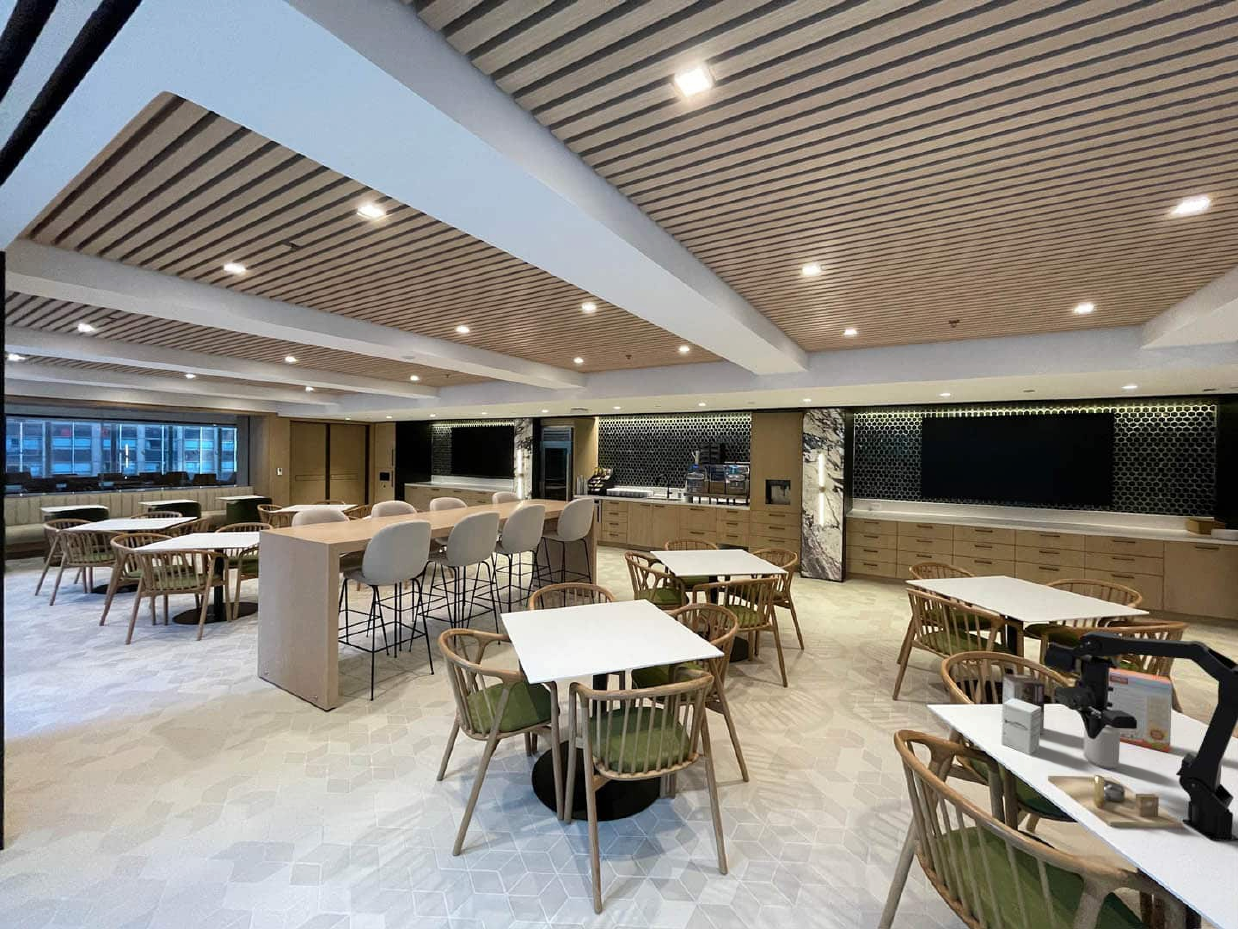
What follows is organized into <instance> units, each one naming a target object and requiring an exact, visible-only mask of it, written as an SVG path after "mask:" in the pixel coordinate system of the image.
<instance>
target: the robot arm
mask: <svg viewBox="0 0 1238 929" xmlns="http://www.w3.org/2000/svg"><path fill="white" fill-rule="evenodd" d="M1078 640H1079V641H1078V642H1079V643H1078V645H1076V646H1074V647H1069V646H1066V645H1060V644H1058V643H1055V642H1052V641H1051V642H1050V643H1048V645H1047V648H1046V651H1045V655H1044V657H1043V662H1044V666H1045V667H1046V668H1050V669H1054V670H1056V671H1061V672H1065V673H1068V674H1073V673H1074V672H1078V671H1079V670H1080V674H1079V676H1080V679H1079V678H1078V679H1075V680H1074V684H1073V686H1069V685H1057V686H1056V687H1055V689H1054V697H1056V698H1057V699H1058V702H1059V704H1060V705H1063V706H1064V707H1067V708H1068V709H1069V710H1072V711H1076V712H1077V713H1078V714H1079V715H1080V717H1081V720H1082V722H1083V725H1084V729H1085V728H1086V731H1087V734H1088V737H1089V738H1091V739H1095V738H1096V737H1097V736H1098V735H1099V733H1100V732H1101V731H1102V730H1103V728H1104V727H1105V726H1106V725H1109V726H1111V727H1114V728H1124V729H1137V720H1136V719H1135V718H1134V717H1133V716H1131V715H1129V714H1127V713H1125V712H1123V711H1121V710H1110V709H1108V708H1107V707H1113V703H1111V702H1109V701H1108V695H1109V691H1113V687H1111V686H1109V672H1110V668H1112V669H1120V667H1121V666H1122V665H1121V664H1120V663H1119V662H1118V661H1116V660H1115V658H1114V657H1115V656H1121V655H1136V656H1147V657H1159V658H1171V659H1172V658H1173V659H1183V660H1191V661H1192V662H1193V663H1194V664H1196V665H1197V666H1199V668H1200V669H1202V670H1203V672H1205V673H1207V674H1208V676H1210V677H1211V678H1212V679H1214V680H1215V681H1217V682H1218V686H1217V704H1216V707H1215V709H1214V712H1213V714H1212V716H1211V719H1210V722H1209V724H1208V727H1207V729H1206V732H1205V735H1204V736H1203V739H1202V742H1201V744H1200V747H1199V749H1198V752H1197V753H1196V755H1193V754H1191V753H1189V752H1187V753H1186V754H1185V756H1184V757H1183V758H1182V759H1181V767H1180V768H1179V770H1177V772H1176V774H1175V775H1176V776H1179V779H1178V783H1179V785H1180V786H1181V788H1182V789H1183V791H1185V793H1187V794H1188V796H1189V801H1188V804H1187V805H1188V807H1187V818H1183V819H1182V823H1184V824H1186V825H1187V826H1189V827H1191V828H1192V829H1194V830H1195V831H1197V833H1200V834H1201V835H1203V836H1205V837H1206V838H1208V839H1209V840H1212V841H1233V842H1234V841H1235V842H1237V841H1238V837H1237V835H1234V834H1233V820H1234V818H1233V817H1234V813H1233V811H1230V809H1229V807H1230V806H1231V803H1233V802H1232V801H1233V799H1234V796H1233V794H1232V793H1230V792H1229V790H1228V789H1227V788H1226V787H1224V786H1223V784H1222V783H1221V780H1222V779H1221V777H1222V760H1223V758H1224V755H1225V753H1226V750H1227V748H1228V746H1229V744H1230V741H1231V739H1232V736H1233V734H1234V732H1235V729H1236V726H1237V725H1238V663H1237V662H1236V661H1234V660H1233V659H1232V658H1230V657H1228V656H1226V655H1224V654H1221V653H1220V652H1218V651H1216V650H1214V649H1212V648H1211V647H1209V646H1208V645H1207V644H1206V643H1204V642H1202V641H1199V640H1177V639H1176V640H1174V639H1157V638H1144V637H1143V638H1141V637H1140V638H1139V637H1131V636H1130V637H1128V636H1123V635H1121V634H1117V633H1112V632H1108V631H1103V630H1091V631H1089V632H1086V633H1085V634H1083V635H1081V636H1080V638H1079V639H1078ZM1090 656H1091V657H1090ZM1113 656H1114V657H1113ZM1105 657H1108V658H1105Z"/></svg>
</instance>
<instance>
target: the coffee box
mask: <svg viewBox="0 0 1238 929" xmlns="http://www.w3.org/2000/svg"><path fill="white" fill-rule="evenodd" d="M1002 674H1003V676H1002V677H1003V678H1002V682H1003V683H1002V708H1001V709H1002V712H1001V723H1002V722H1003V704H1004V702H1006V701H1008V700H1010V699H1012V698H1015V699H1018V700H1021V701H1024V702H1027V703H1030V704H1033V705H1036V706H1039V707H1041V716H1040V735H1044V734H1045V733H1044V731H1045V730H1044V723H1045V683H1044V682H1043V681H1041V680H1040V679H1039V678H1038V677H1036V676H1034V675H1029V674H1028V675H1027V674H1026V675H1025V674H1012V673H1011V674H1010V673H1002Z"/></svg>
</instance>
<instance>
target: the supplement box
mask: <svg viewBox="0 0 1238 929" xmlns="http://www.w3.org/2000/svg"><path fill="white" fill-rule="evenodd" d="M1002 705H1003V722H1002V721H1001V723H1002V724H1001V741H1000V743H1001V745H1004V746H1007V747H1009V748H1012V749H1015V750H1017V751H1019V752H1022V753H1024V754H1026V755H1028V756H1030V755H1031V754H1032V753H1034V752H1036V751H1037V750H1039V746H1040V735H1041V734H1040V716H1041V707H1039V706H1036V705H1033V704H1030V703H1027V702H1024V701H1021V700H1018V699H1015V698H1012V699H1010V700H1008V701H1006V702H1004V704H1003V703H1002Z"/></svg>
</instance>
